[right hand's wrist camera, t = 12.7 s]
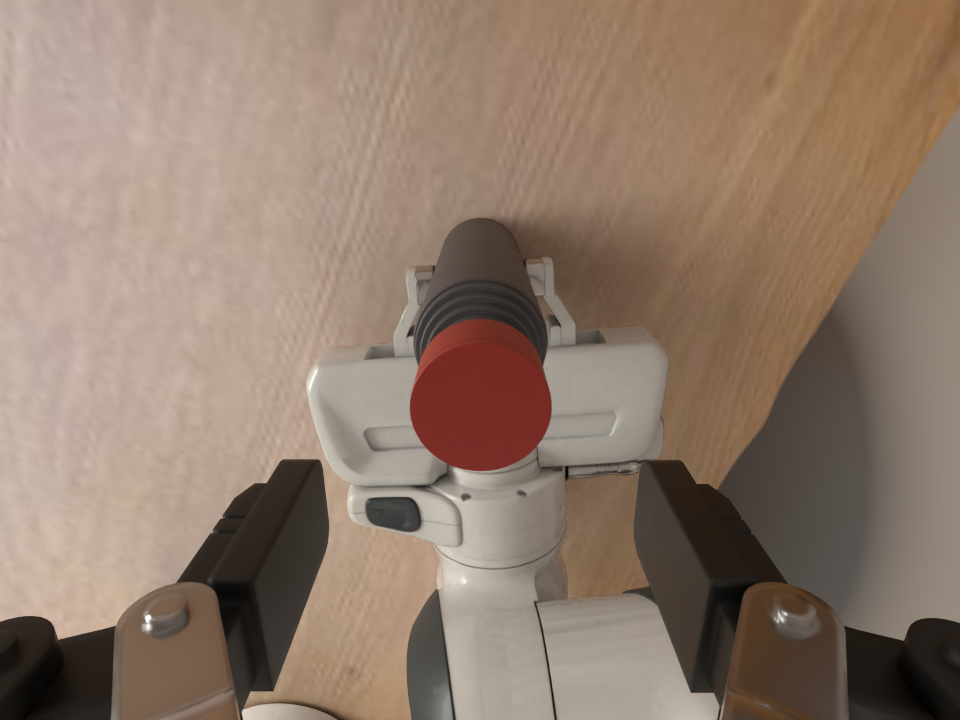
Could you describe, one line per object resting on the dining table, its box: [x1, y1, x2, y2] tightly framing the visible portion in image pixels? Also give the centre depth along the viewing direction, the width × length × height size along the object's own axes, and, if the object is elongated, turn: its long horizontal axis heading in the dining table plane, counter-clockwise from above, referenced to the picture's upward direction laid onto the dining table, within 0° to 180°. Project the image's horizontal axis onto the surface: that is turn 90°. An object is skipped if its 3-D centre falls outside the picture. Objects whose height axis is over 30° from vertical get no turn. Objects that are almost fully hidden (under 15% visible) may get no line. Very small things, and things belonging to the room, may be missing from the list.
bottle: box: [413, 218, 548, 366], centre depth 26 cm, size 5×5×22 cm
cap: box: [410, 319, 552, 471], centre depth 17 cm, size 4×4×2 cm
